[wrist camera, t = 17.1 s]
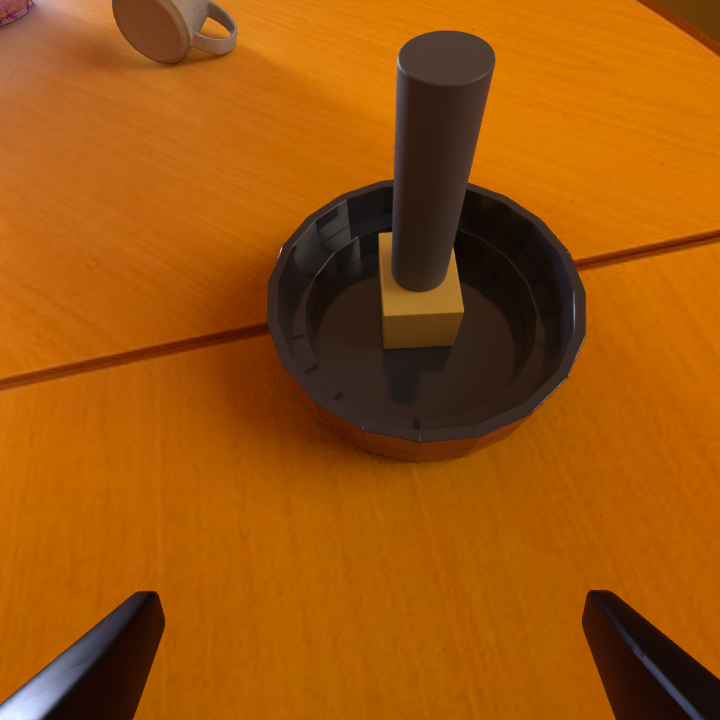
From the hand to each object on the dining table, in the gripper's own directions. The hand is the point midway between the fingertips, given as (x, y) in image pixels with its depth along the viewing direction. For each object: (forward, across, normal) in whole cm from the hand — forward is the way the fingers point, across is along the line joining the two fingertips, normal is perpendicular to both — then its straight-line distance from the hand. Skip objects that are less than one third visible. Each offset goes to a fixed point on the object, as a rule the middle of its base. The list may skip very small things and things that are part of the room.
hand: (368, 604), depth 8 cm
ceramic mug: (+46, +19, -26) cm, 56 cm away
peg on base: (+20, -3, -2) cm, 20 cm away
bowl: (+20, -3, 0) cm, 20 cm away
